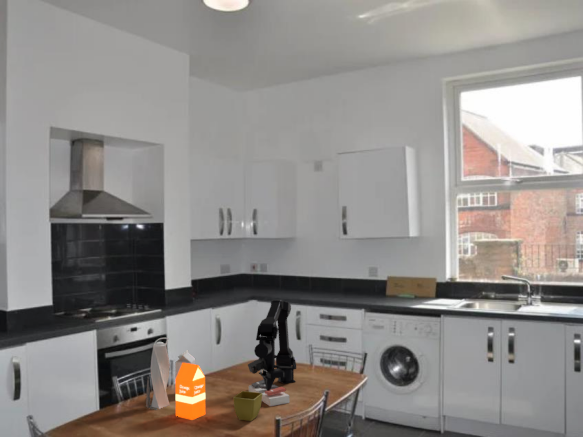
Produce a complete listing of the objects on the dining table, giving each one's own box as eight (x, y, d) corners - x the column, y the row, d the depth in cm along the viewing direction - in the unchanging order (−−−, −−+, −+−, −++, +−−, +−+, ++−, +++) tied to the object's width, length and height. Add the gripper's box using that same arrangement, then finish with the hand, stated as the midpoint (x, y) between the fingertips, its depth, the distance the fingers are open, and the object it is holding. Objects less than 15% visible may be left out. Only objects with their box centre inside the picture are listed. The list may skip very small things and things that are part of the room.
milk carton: (195, 392, 237) (195, 349, 238) (191, 397, 230) (191, 353, 231) (180, 392, 238) (180, 349, 239) (175, 397, 231) (175, 353, 232)
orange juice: (192, 420, 202) (191, 367, 203) (175, 416, 207) (175, 364, 207) (205, 414, 209) (205, 362, 209) (189, 410, 213) (188, 360, 214)
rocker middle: (274, 387, 232) (275, 384, 232) (278, 389, 229) (278, 386, 229) (258, 386, 229) (258, 384, 229) (261, 388, 226) (262, 386, 226)
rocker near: (267, 380, 239) (267, 378, 238) (271, 382, 235) (270, 379, 235) (251, 385, 235) (251, 383, 235) (255, 388, 232) (254, 385, 232)
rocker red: (282, 388, 226) (281, 386, 226) (285, 391, 223) (285, 388, 223) (265, 393, 222) (264, 390, 222) (268, 395, 219) (268, 393, 219)
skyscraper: (160, 402, 225) (160, 336, 226) (174, 405, 220) (173, 338, 221) (145, 408, 218) (144, 339, 219) (158, 411, 213) (157, 341, 214)
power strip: (261, 386, 246) (261, 379, 246) (289, 402, 221) (289, 395, 221) (243, 389, 241) (243, 382, 241) (270, 406, 217) (269, 398, 217)
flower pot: (263, 416, 205) (262, 392, 206) (254, 423, 197) (254, 399, 197) (242, 413, 208) (242, 390, 209) (232, 421, 200) (232, 397, 200)
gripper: (241, 350, 226) (241, 387, 226) (259, 359, 210) (259, 399, 209) (265, 347, 231) (265, 384, 231) (284, 356, 215) (285, 395, 214)
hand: (268, 390), depth 221 cm, fingers closed
